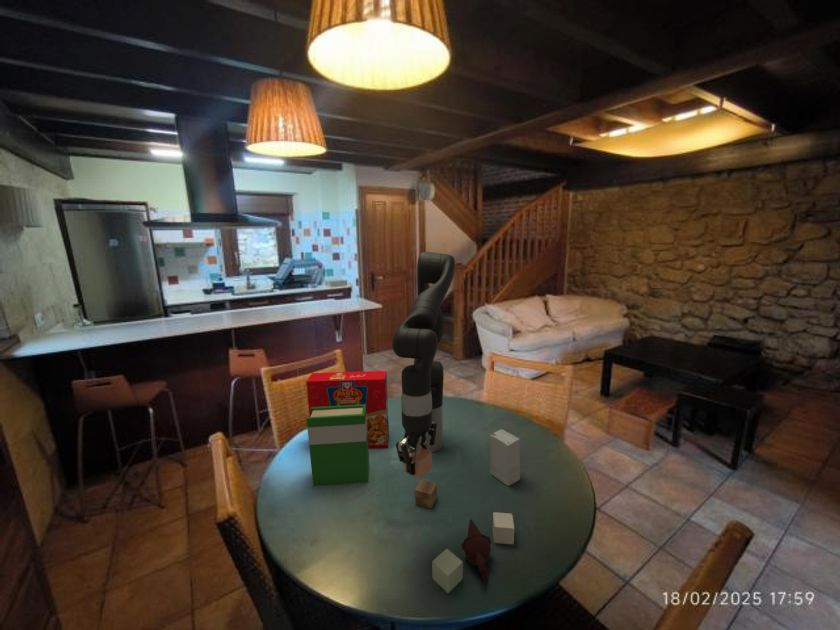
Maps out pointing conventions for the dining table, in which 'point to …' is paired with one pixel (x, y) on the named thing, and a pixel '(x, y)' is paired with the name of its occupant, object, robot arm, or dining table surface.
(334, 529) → the dining table surface
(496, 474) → the skincare box
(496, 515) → the cream cube
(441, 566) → the sage cube
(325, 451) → the hardback book
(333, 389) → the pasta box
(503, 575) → the dining table surface
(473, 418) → the dining table surface
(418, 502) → the walnut cube
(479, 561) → the icecream
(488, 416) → the dining table surface
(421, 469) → the terracotta cube
